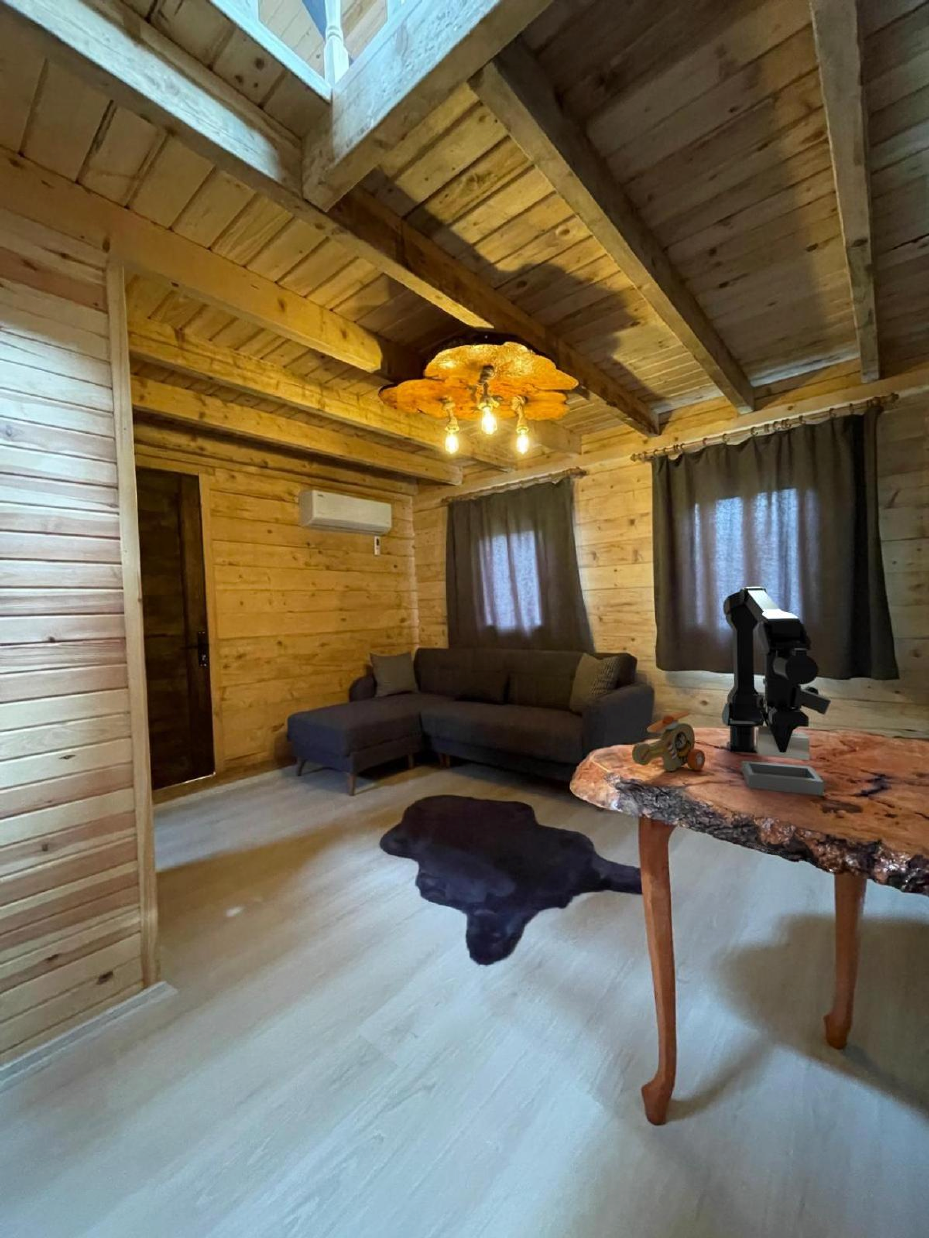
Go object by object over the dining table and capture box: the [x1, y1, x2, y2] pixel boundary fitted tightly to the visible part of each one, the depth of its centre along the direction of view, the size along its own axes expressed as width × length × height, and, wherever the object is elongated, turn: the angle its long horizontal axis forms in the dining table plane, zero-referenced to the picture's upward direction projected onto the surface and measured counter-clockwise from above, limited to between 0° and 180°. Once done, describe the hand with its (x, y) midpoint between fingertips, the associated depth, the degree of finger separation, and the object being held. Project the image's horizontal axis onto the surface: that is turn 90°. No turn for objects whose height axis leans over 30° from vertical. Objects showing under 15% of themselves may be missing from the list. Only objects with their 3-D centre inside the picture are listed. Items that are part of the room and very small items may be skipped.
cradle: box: [742, 760, 824, 796], centre depth 107 cm, size 9×13×3 cm
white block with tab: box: [755, 725, 811, 761], centre depth 106 cm, size 4×9×6 cm, turn 68°
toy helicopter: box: [631, 709, 706, 772], centre depth 115 cm, size 8×21×14 cm, turn 123°
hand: (780, 749), depth 107 cm, fingers closed on white block with tab, 4 cm apart
